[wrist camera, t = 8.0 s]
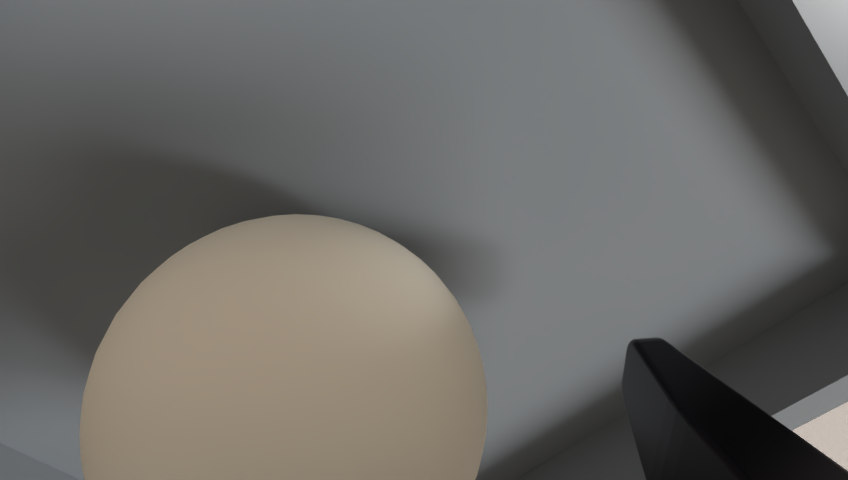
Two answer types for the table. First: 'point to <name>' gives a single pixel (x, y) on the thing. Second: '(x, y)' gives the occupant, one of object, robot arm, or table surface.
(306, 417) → the ball
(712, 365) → the tray
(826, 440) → the table surface
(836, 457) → the table surface
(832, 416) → the table surface
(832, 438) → the table surface
